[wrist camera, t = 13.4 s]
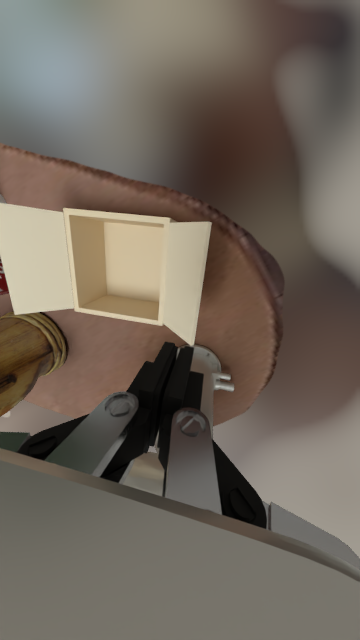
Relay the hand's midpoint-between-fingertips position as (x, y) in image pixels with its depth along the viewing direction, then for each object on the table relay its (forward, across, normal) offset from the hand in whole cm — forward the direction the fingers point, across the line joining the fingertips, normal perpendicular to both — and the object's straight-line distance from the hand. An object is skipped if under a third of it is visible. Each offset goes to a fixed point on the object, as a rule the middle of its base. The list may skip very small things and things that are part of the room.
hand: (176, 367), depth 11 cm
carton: (+29, +14, -1) cm, 32 cm away
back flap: (+16, +24, -1) cm, 29 cm away
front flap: (+16, +3, -2) cm, 17 cm away
